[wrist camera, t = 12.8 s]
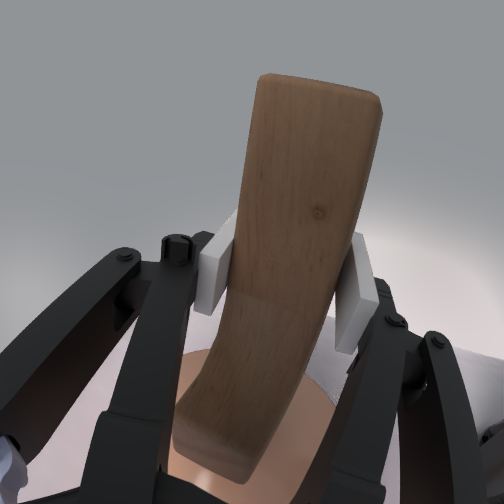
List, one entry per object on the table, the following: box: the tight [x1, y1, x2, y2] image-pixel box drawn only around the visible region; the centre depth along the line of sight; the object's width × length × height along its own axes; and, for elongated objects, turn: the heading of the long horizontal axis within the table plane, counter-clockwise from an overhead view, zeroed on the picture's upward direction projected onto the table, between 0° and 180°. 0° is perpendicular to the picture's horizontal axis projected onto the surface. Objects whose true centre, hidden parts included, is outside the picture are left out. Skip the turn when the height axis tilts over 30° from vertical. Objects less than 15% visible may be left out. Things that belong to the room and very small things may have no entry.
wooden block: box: [172, 73, 383, 485], centre depth 13 cm, size 9×4×18 cm, turn 155°
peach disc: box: [168, 349, 336, 504], centre depth 20 cm, size 15×15×8 cm
